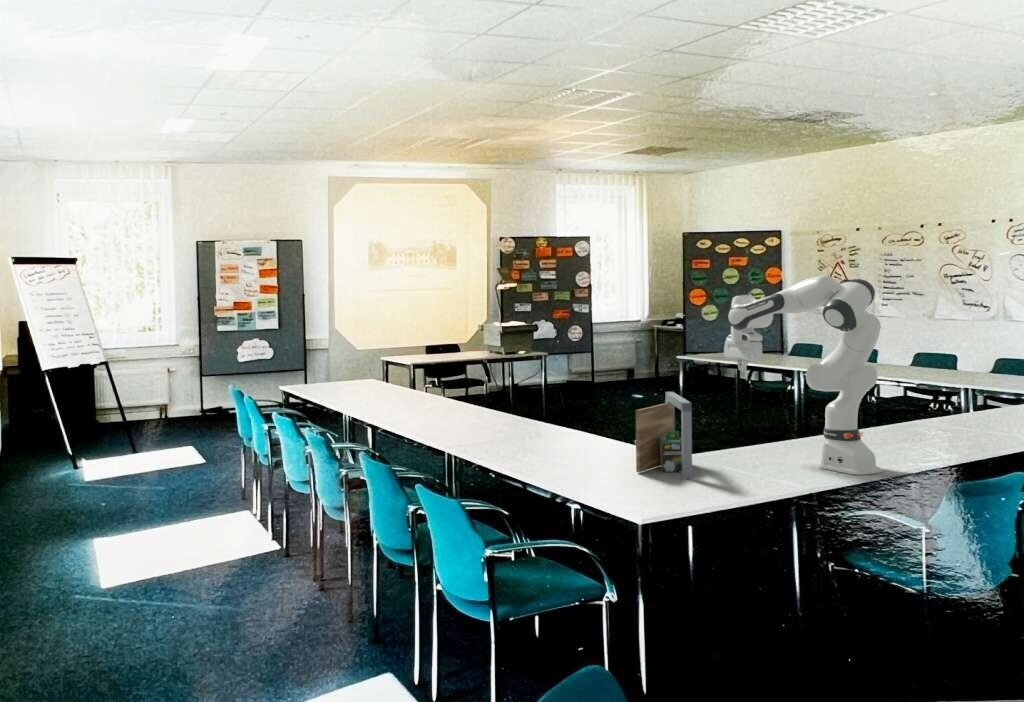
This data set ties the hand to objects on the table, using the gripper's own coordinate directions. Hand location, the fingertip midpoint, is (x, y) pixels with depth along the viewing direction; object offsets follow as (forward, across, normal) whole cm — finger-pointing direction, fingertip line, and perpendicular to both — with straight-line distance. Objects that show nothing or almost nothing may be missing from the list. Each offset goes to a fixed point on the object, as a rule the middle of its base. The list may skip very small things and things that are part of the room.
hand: (742, 370), depth 323 cm
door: (+34, +3, -43) cm, 54 cm away
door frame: (+34, +9, -36) cm, 50 cm away
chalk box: (+34, +10, -38) cm, 52 cm away
